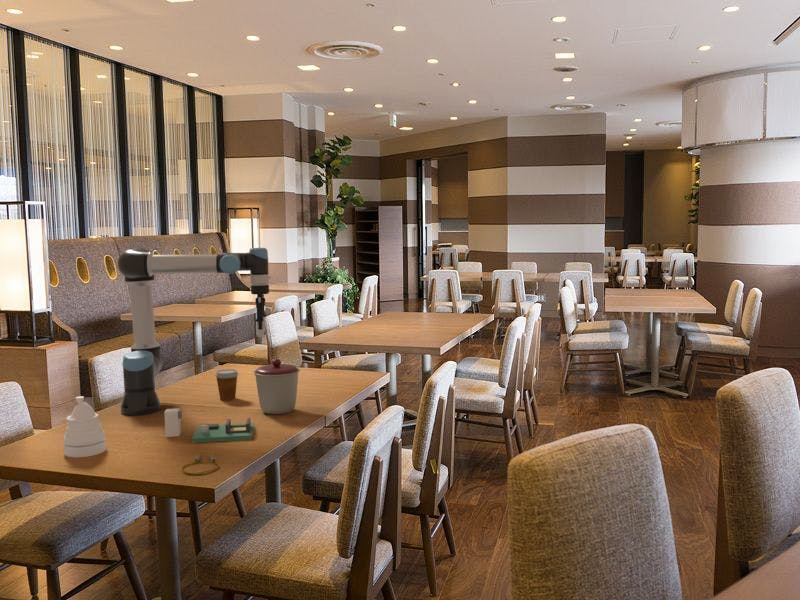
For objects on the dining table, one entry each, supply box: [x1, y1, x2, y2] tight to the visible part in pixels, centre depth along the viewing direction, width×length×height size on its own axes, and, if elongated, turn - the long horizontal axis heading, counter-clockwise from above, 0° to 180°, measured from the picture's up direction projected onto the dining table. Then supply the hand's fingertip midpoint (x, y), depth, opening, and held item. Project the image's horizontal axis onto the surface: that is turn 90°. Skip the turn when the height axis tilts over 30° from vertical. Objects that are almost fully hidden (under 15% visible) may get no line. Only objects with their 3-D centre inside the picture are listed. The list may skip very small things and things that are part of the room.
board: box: [191, 417, 255, 443], centre depth 261 cm, size 20×16×4 cm
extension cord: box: [181, 454, 221, 476], centre depth 227 cm, size 12×16×2 cm
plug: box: [163, 407, 183, 438], centre depth 262 cm, size 5×4×9 cm
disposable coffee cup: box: [214, 368, 239, 402], centre depth 314 cm, size 10×10×12 cm
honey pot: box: [63, 395, 107, 458], centre depth 244 cm, size 13×13×18 cm
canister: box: [253, 358, 301, 415], centre depth 291 cm, size 18×18×21 cm
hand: (261, 334), depth 312 cm, fingers open, 13 cm apart
